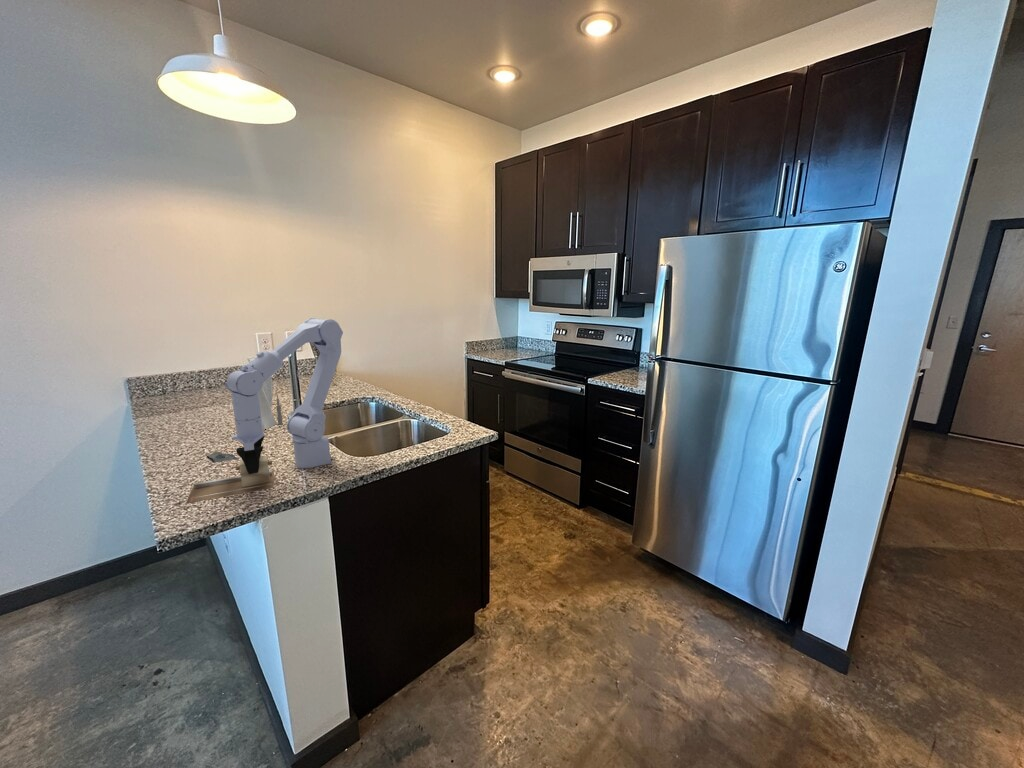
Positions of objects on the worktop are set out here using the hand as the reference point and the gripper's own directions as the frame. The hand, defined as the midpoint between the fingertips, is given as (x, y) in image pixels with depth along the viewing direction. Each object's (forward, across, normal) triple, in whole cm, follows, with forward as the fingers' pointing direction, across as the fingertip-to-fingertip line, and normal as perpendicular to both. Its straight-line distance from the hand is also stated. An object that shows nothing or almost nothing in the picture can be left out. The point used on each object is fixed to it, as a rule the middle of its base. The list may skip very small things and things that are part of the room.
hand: (254, 467), depth 107 cm
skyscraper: (+6, -55, +1) cm, 55 cm away
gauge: (+4, 0, 0) cm, 4 cm away
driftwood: (+6, -23, -9) cm, 25 cm away
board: (+6, 0, -5) cm, 7 cm away
